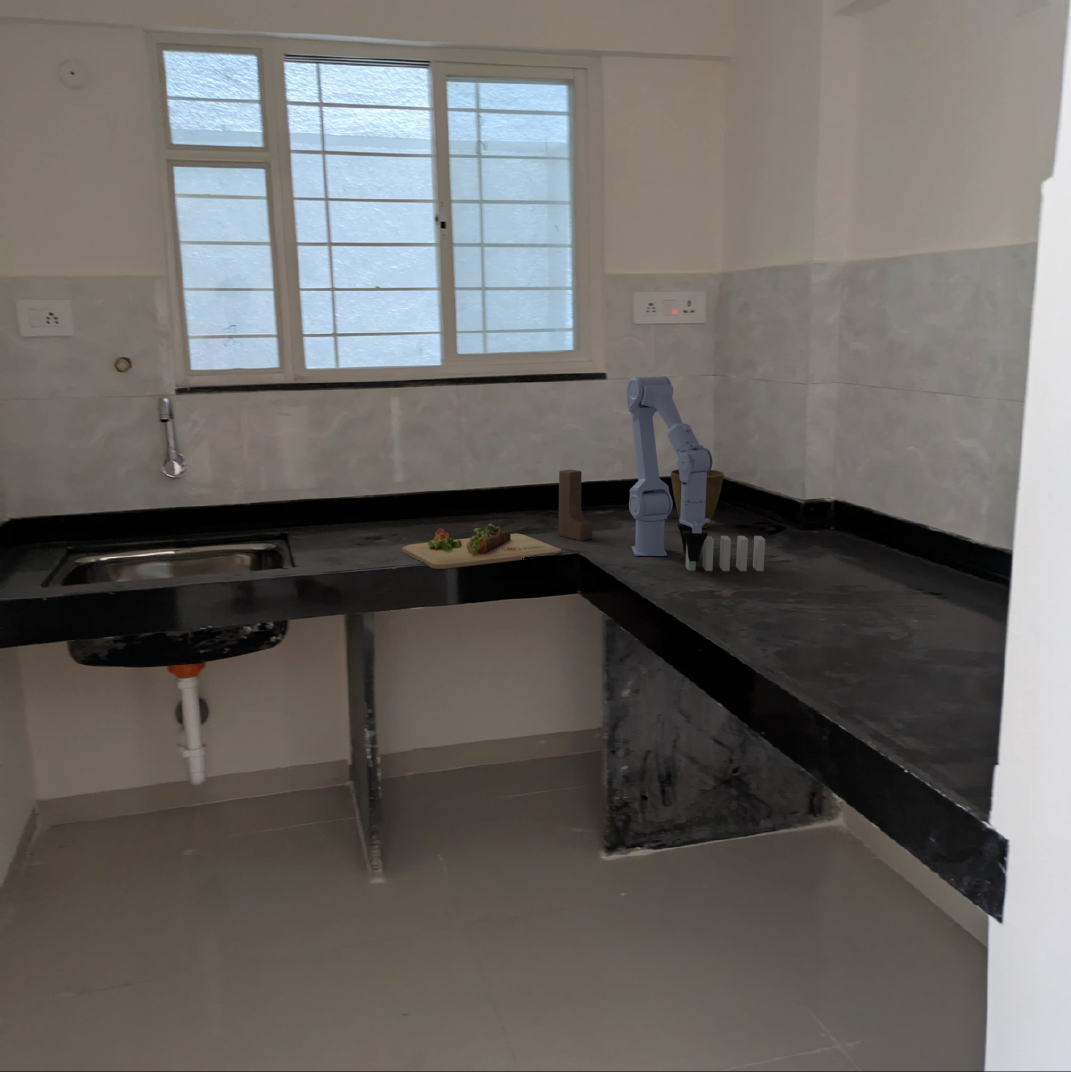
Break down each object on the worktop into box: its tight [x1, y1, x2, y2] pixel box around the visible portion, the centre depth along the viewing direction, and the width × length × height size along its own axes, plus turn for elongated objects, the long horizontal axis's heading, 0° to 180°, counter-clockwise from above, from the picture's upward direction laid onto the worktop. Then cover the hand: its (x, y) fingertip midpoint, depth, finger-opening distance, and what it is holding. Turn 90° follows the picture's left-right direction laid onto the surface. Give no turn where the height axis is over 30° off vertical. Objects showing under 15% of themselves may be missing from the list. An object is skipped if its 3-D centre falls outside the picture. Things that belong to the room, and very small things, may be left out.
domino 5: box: [752, 535, 766, 572], centre depth 232 cm, size 4×2×8 cm, turn 0°
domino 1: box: [685, 543, 697, 572], centre depth 232 cm, size 4×2×8 cm, turn 1°
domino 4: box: [735, 535, 749, 572], centre depth 232 cm, size 4×2×8 cm, turn 0°
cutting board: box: [401, 523, 562, 570], centre depth 248 cm, size 35×23×8 cm
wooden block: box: [558, 469, 593, 542], centre depth 265 cm, size 9×4×18 cm, turn 41°
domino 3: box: [718, 535, 732, 572], centre depth 232 cm, size 4×2×8 cm, turn 0°
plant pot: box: [670, 468, 725, 529], centre depth 280 cm, size 15×15×16 cm
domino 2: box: [702, 535, 715, 572], centre depth 232 cm, size 4×2×8 cm, turn 0°
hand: (691, 557), depth 233 cm, fingers open, 7 cm apart
